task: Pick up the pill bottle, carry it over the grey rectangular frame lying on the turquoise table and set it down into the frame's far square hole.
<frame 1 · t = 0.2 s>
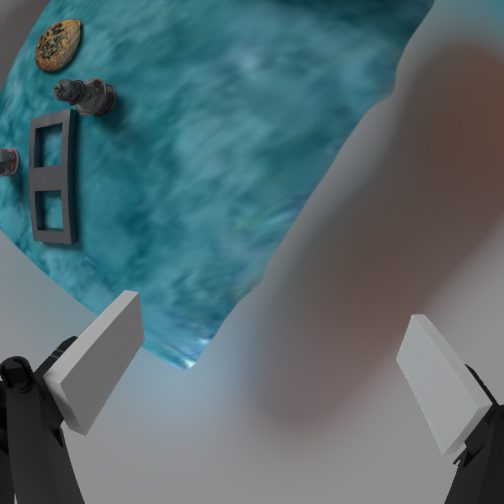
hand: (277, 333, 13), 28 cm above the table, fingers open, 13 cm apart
pill bottle: (13, 161, 39), on the table
grey rectangular frame: (54, 177, 39), on the table
bread roll: (62, 46, 32), on the table
grey chess piece: (103, 100, 35), on the table
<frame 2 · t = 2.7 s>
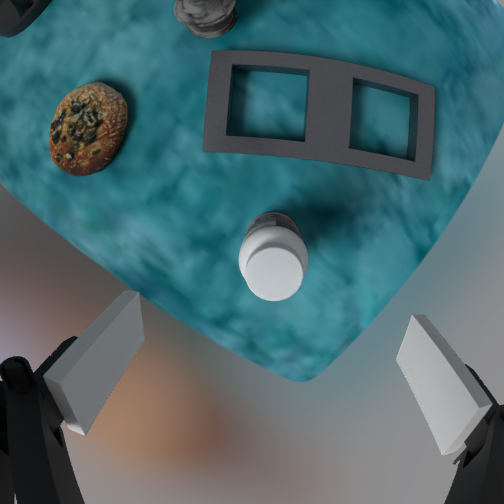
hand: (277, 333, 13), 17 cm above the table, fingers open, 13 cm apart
pill bottle: (272, 237, 29), on the table
grey rectangular frame: (325, 111, 24), on the table
bread roll: (91, 127, 26), on the table
grey chess piece: (211, 19, 22), on the table
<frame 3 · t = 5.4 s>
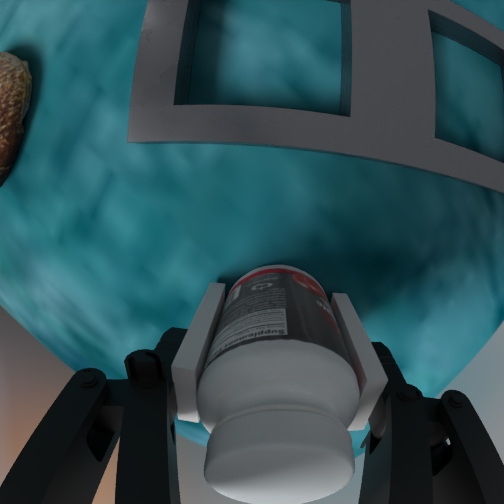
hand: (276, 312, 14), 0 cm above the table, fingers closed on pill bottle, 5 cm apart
pill bottle: (276, 307, 15), on the table, touching gripper
grey rectangular frame: (380, 65, 11), on the table
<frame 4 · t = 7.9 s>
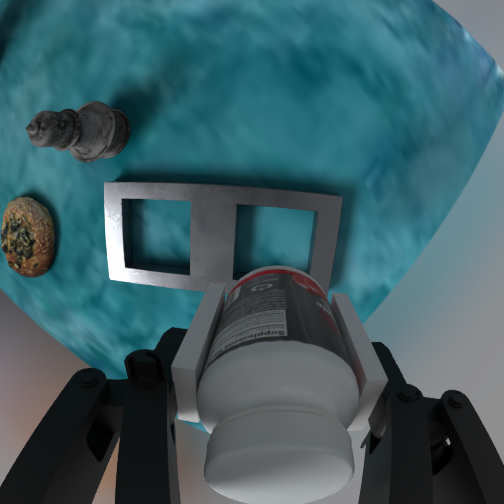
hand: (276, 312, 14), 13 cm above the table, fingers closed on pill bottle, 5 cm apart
pill bottle: (276, 308, 15), point 13 cm above the table, touching gripper
grey rectangular frame: (216, 235, 27), on the table
bread roll: (32, 233, 29), on the table
grey chess piece: (109, 133, 25), on the table
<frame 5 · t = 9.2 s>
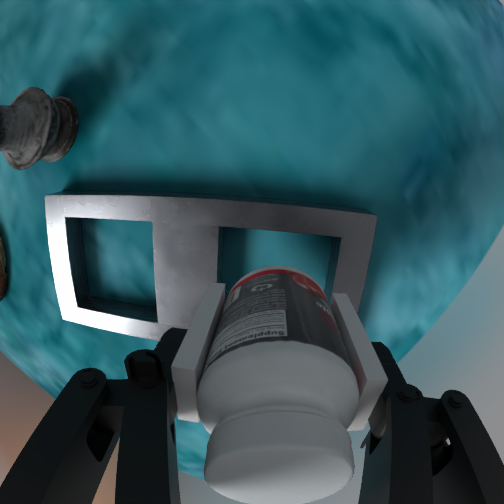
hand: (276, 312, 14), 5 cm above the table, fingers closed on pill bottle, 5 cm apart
pill bottle: (276, 308, 15), point 4 cm above the table, touching gripper
grey rectangular frame: (192, 268, 19), on the table
grey chess piece: (55, 129, 17), on the table
when the fingers open (3 cm above the table, at t = 10.4 s): pill bottle drops 2 cm, resting in grey rectangular frame.
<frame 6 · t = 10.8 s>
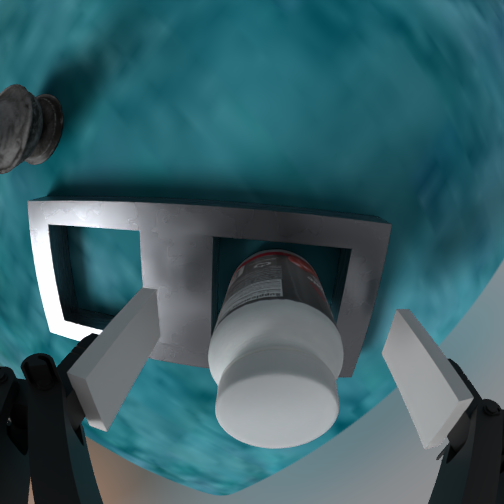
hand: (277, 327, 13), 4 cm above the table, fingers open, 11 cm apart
pill bottle: (274, 288, 17), resting in grey rectangular frame
grey rectangular frame: (185, 280, 17), on the table
grey chess piece: (40, 129, 15), on the table
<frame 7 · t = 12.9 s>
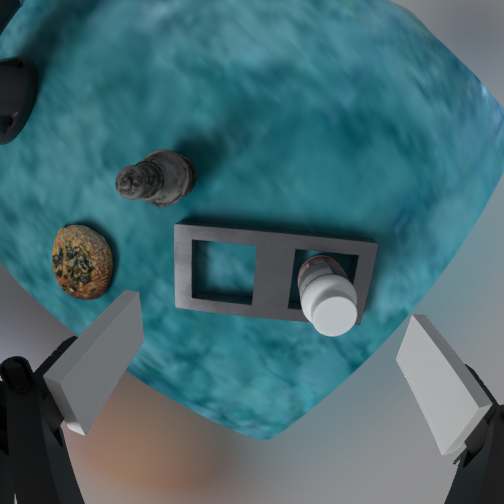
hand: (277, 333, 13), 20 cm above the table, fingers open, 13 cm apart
pill bottle: (319, 275, 33), resting in grey rectangular frame
grey rectangular frame: (273, 271, 33), on the table
bread roll: (85, 258, 35), on the table
grey chess piece: (174, 176, 31), on the table
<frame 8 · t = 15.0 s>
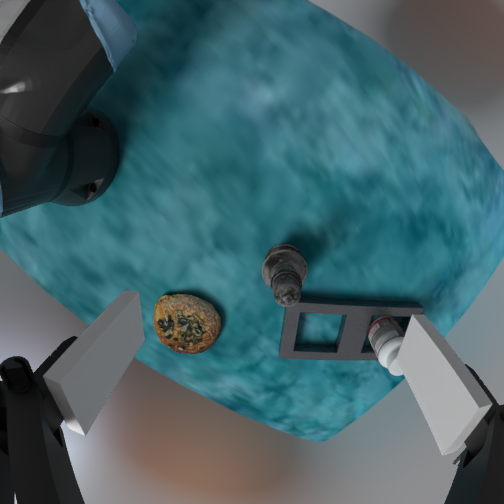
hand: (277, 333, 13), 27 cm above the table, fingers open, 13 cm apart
pill bottle: (381, 328, 42), resting in grey rectangular frame
grey rectangular frame: (351, 328, 42), on the table
bread roll: (187, 319, 44), on the table
grey chess piece: (283, 261, 40), on the table
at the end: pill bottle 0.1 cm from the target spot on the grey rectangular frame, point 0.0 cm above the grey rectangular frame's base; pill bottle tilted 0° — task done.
